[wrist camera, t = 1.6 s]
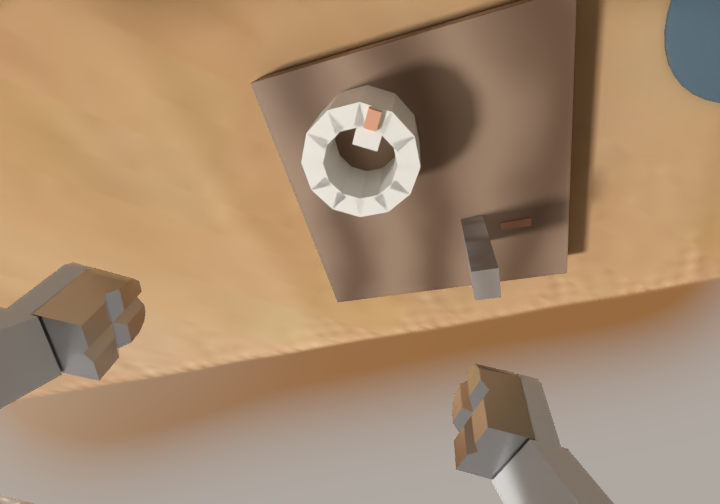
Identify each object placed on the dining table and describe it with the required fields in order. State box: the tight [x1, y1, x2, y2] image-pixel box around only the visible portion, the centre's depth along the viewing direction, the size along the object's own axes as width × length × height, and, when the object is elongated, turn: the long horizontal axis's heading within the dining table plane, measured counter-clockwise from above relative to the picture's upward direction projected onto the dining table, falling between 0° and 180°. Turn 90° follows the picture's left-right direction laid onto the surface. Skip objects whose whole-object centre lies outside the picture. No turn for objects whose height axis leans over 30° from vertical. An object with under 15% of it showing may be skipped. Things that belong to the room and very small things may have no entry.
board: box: [251, 0, 577, 302], centre depth 24 cm, size 18×18×8 cm
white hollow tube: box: [301, 85, 421, 217], centre depth 22 cm, size 6×6×4 cm
